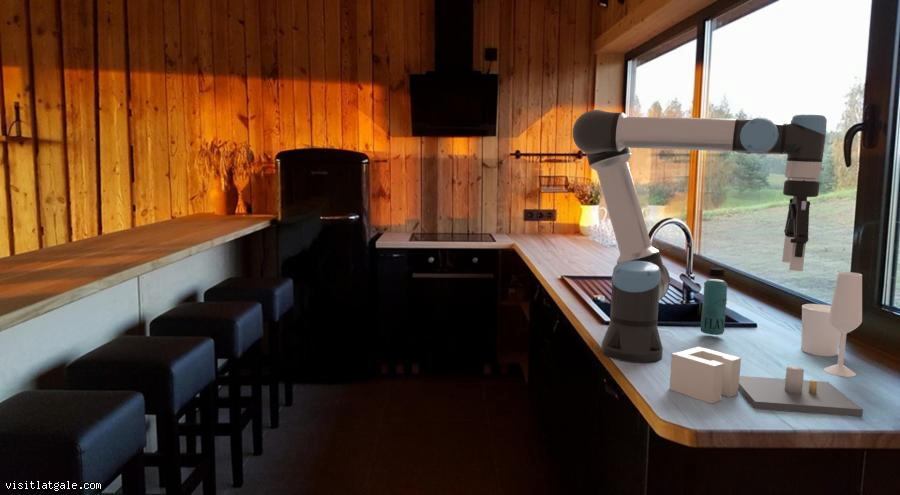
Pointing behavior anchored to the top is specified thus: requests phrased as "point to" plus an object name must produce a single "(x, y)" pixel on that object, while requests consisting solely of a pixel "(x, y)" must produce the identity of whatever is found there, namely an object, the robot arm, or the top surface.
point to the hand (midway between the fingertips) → (791, 266)
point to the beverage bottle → (714, 303)
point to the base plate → (796, 394)
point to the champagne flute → (845, 314)
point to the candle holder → (818, 331)
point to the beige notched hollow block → (705, 374)
